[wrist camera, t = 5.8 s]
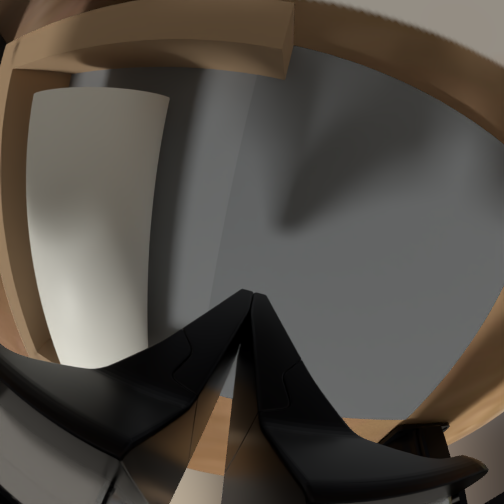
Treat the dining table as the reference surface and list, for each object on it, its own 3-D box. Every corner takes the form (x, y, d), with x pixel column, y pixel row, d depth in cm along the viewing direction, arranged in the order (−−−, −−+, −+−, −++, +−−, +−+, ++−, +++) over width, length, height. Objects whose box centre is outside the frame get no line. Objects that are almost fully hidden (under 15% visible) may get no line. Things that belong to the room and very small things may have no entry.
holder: (403, 411, 15) (414, 457, 11) (62, 322, 16) (29, 357, 12) (532, 175, 8) (584, 195, 4) (63, 52, 9) (6, 44, 5)
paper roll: (134, 319, 15) (162, 382, 12) (57, 330, 12) (67, 401, 9) (151, 99, 10) (192, 94, 7) (44, 96, 7) (20, 85, 4)
